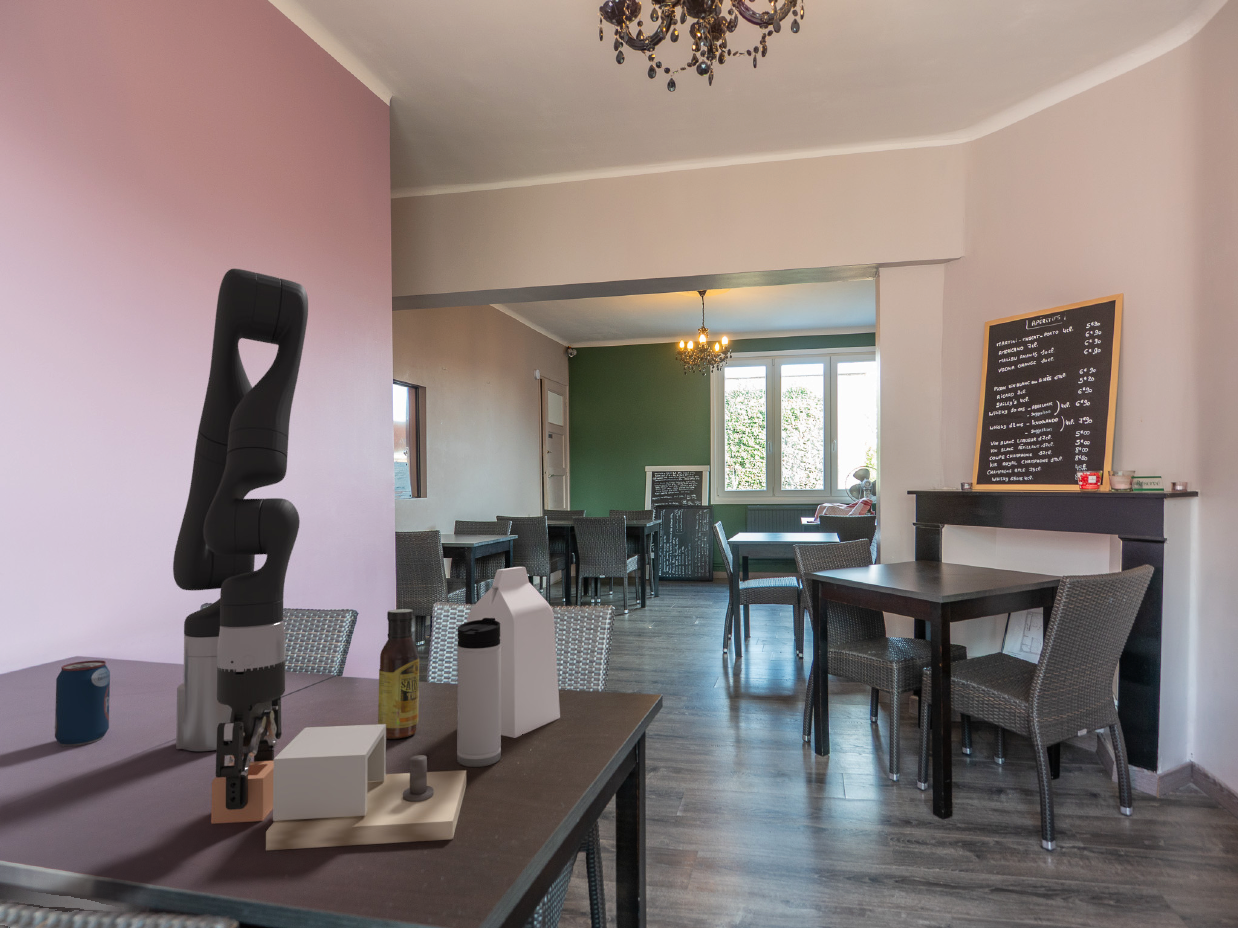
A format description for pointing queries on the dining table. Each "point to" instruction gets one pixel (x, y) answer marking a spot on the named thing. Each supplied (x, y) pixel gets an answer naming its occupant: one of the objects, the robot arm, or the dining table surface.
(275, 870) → the dining table surface
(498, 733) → the travel mug
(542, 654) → the milk
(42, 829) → the dining table surface
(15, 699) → the dining table surface
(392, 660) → the sauce bottle
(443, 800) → the board
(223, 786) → the ring block
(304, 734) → the cover
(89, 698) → the soda can
